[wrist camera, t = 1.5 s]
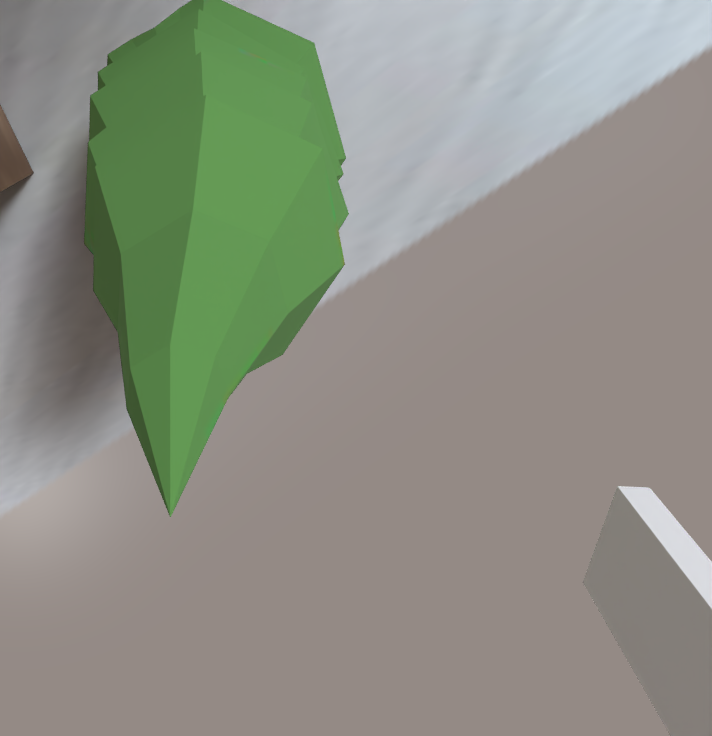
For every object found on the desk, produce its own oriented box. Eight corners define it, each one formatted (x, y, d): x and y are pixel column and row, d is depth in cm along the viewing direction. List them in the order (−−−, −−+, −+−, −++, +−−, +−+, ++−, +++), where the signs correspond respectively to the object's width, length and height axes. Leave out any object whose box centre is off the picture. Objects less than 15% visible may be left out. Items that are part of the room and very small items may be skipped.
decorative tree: (254, 245, 36) (217, 818, 10) (90, 140, 33) (-652, 559, 6) (360, 86, 34) (725, 269, 7) (192, -46, 30) (-376, -685, 4)
